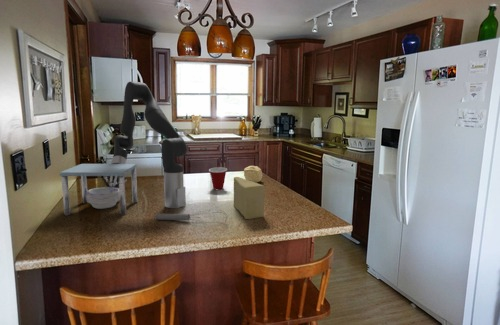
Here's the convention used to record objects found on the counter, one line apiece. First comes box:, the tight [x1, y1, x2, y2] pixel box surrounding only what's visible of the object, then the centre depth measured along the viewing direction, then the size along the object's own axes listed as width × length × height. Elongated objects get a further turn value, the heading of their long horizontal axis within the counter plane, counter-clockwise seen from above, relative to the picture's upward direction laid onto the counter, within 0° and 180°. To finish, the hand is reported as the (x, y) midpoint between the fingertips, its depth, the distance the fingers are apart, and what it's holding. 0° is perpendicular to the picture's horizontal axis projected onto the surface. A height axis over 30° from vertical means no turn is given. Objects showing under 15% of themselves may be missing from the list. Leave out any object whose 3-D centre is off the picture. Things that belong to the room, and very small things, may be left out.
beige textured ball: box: [243, 165, 263, 183], centre depth 222 cm, size 11×12×11 cm
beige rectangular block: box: [233, 176, 265, 220], centre depth 160 cm, size 22×10×15 cm, turn 26°
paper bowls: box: [86, 186, 120, 210], centre depth 166 cm, size 15×15×8 cm
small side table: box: [59, 163, 138, 216], centre depth 162 cm, size 22×27×20 cm
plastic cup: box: [208, 166, 228, 190], centre depth 203 cm, size 11×11×12 cm
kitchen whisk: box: [152, 209, 228, 226], centre depth 145 cm, size 6×34×6 cm, turn 79°
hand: (111, 194), depth 174 cm, fingers closed
